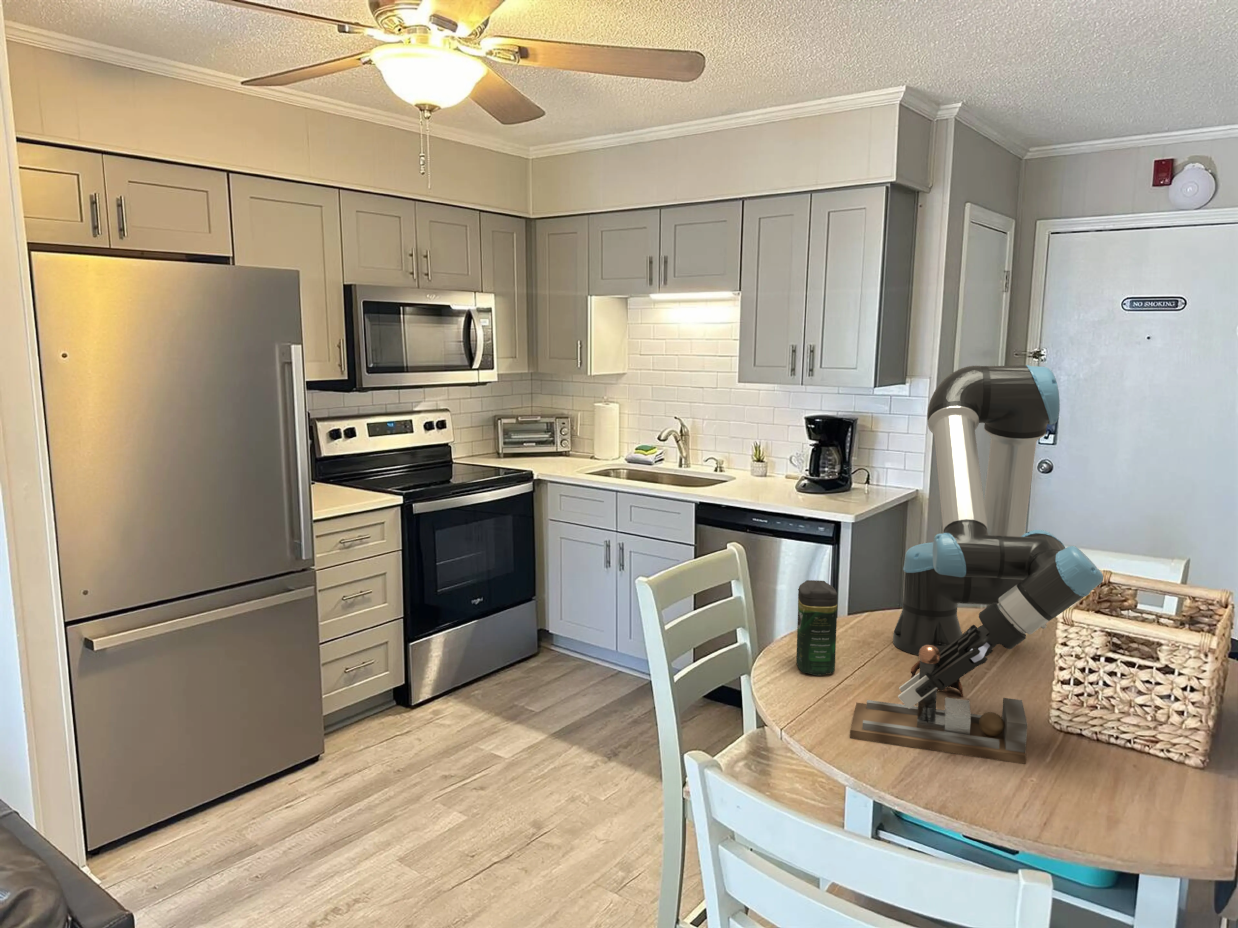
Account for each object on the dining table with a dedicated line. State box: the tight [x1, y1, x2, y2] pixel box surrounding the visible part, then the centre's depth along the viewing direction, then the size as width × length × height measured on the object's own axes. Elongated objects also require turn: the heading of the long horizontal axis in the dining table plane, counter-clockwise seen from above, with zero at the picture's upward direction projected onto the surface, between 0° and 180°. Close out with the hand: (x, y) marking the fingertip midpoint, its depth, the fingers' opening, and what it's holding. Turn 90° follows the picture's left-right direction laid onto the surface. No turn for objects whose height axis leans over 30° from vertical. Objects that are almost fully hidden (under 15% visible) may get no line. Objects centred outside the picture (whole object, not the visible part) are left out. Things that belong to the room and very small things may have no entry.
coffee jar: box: [795, 579, 838, 676], centre depth 180 cm, size 10×8×19 cm
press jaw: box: [917, 645, 972, 735], centre depth 149 cm, size 9×7×15 cm
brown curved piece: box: [910, 660, 964, 698], centre depth 169 cm, size 12×9×8 cm
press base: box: [849, 697, 1028, 765], centre depth 150 cm, size 28×12×6 cm, turn 70°
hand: (904, 697), depth 152 cm, fingers closed on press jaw, 3 cm apart
